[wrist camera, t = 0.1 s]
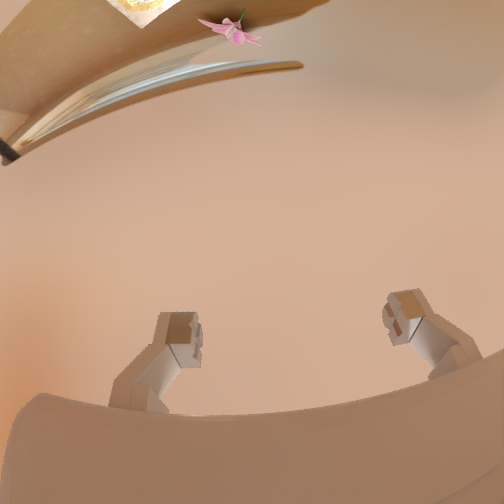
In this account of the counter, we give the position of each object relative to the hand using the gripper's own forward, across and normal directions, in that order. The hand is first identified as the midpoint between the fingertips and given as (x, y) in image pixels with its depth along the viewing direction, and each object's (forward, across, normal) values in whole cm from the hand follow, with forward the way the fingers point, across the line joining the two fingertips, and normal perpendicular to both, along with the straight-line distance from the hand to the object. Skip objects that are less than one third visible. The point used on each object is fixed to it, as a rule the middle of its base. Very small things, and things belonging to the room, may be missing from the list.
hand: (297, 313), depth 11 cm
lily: (+51, +2, -20) cm, 55 cm away
